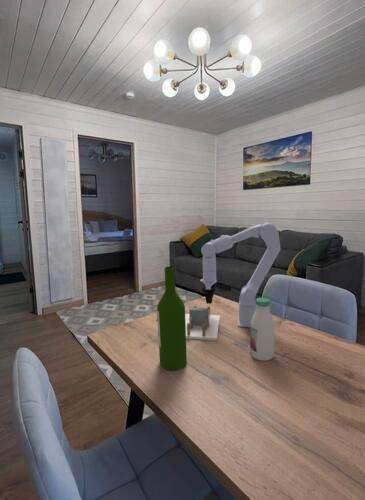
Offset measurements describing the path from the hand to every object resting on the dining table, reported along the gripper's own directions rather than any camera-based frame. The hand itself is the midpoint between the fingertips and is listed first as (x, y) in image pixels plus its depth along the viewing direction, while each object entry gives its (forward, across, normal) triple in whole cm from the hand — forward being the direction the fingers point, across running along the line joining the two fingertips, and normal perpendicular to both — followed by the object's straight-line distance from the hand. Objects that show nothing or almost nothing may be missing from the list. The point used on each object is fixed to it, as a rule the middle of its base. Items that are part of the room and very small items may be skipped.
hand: (210, 299), depth 120 cm
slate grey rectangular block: (+8, +8, -4) cm, 12 cm away
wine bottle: (+10, +34, -9) cm, 37 cm away
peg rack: (+9, +8, -4) cm, 13 cm away
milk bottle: (+10, +26, +20) cm, 34 cm away
